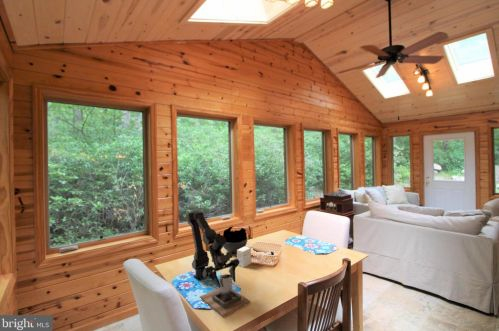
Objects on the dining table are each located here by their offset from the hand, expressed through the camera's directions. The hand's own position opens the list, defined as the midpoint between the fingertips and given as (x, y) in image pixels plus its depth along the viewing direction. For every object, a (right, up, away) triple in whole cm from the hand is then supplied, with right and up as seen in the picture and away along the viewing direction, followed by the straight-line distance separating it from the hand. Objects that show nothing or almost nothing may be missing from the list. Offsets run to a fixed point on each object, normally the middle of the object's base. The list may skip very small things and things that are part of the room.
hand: (227, 284), depth 121 cm
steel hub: (-1, -8, +2) cm, 8 cm away
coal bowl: (-1, -7, +67) cm, 67 cm away
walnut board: (-2, -9, +3) cm, 10 cm away
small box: (+7, -8, +44) cm, 46 cm away
